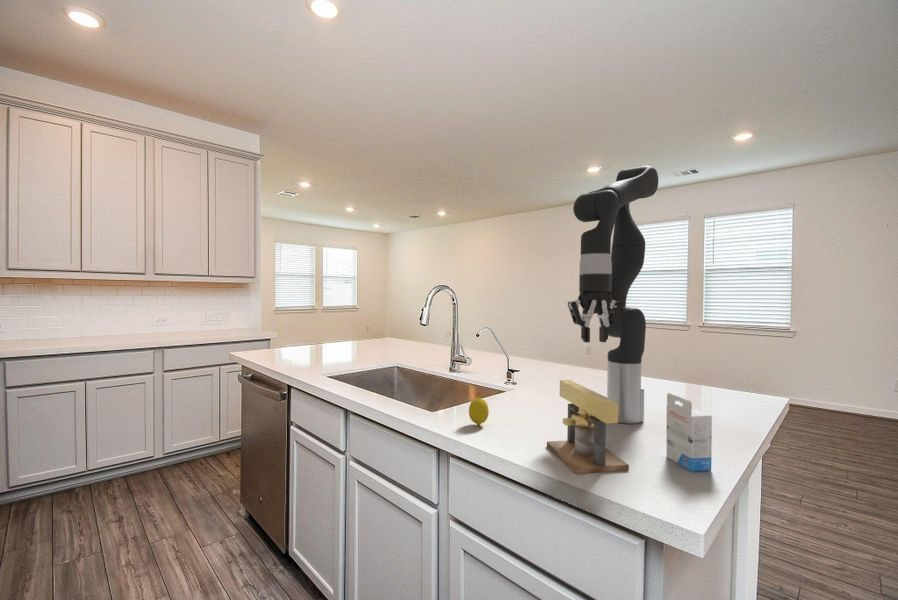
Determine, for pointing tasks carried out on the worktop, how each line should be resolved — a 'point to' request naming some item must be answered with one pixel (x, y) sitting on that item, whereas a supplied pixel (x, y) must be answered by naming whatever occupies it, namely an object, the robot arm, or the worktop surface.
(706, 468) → the ink box
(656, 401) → the worktop surface
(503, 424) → the worktop surface
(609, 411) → the yellow long bar
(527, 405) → the worktop surface
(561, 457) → the base
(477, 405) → the lemon
